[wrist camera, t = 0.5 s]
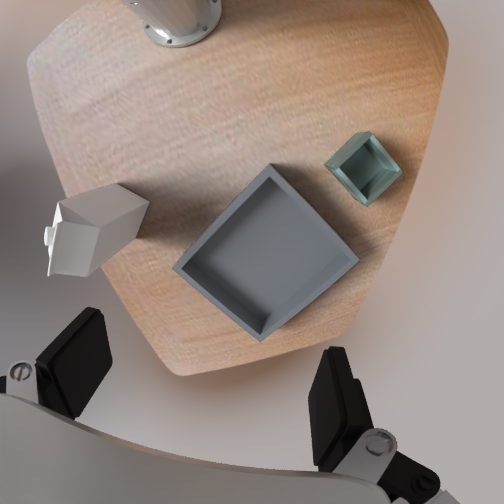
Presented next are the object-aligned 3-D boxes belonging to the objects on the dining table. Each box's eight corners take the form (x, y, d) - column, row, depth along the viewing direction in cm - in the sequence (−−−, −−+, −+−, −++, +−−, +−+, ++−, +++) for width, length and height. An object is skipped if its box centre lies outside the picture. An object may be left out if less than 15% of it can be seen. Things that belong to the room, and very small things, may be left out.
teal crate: (323, 164, 39) (332, 167, 34) (356, 133, 37) (369, 131, 32) (354, 198, 41) (367, 207, 35) (386, 168, 39) (402, 172, 33)
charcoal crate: (181, 255, 46) (171, 268, 41) (269, 163, 40) (269, 165, 35) (261, 324, 49) (260, 342, 44) (351, 248, 43) (359, 260, 39)
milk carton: (150, 201, 43) (80, 239, 25) (135, 239, 45) (69, 291, 27) (115, 182, 42) (36, 209, 24) (102, 219, 44) (28, 261, 27)
